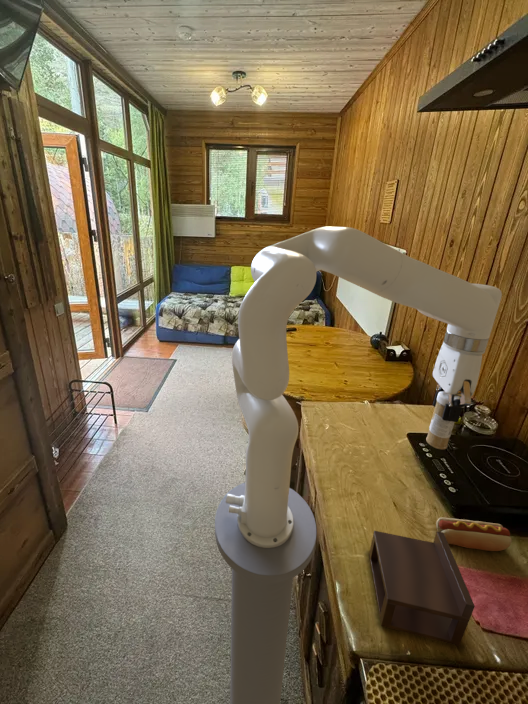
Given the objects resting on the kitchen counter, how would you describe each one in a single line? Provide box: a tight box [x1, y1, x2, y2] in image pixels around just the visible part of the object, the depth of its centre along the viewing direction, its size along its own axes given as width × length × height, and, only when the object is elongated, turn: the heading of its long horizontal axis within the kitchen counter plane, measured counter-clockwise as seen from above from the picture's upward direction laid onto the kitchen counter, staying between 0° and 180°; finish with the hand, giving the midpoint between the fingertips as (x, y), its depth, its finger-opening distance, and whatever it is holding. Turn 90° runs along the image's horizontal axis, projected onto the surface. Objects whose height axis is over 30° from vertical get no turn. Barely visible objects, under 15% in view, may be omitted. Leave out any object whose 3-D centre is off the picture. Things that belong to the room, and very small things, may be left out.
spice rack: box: [368, 530, 476, 647], centre depth 55 cm, size 12×12×10 cm
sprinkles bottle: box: [425, 391, 460, 450], centre depth 73 cm, size 5×5×13 cm
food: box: [435, 516, 513, 552], centre depth 66 cm, size 14×6×5 cm, turn 83°
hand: (444, 412), depth 72 cm, fingers closed on sprinkles bottle, 4 cm apart
